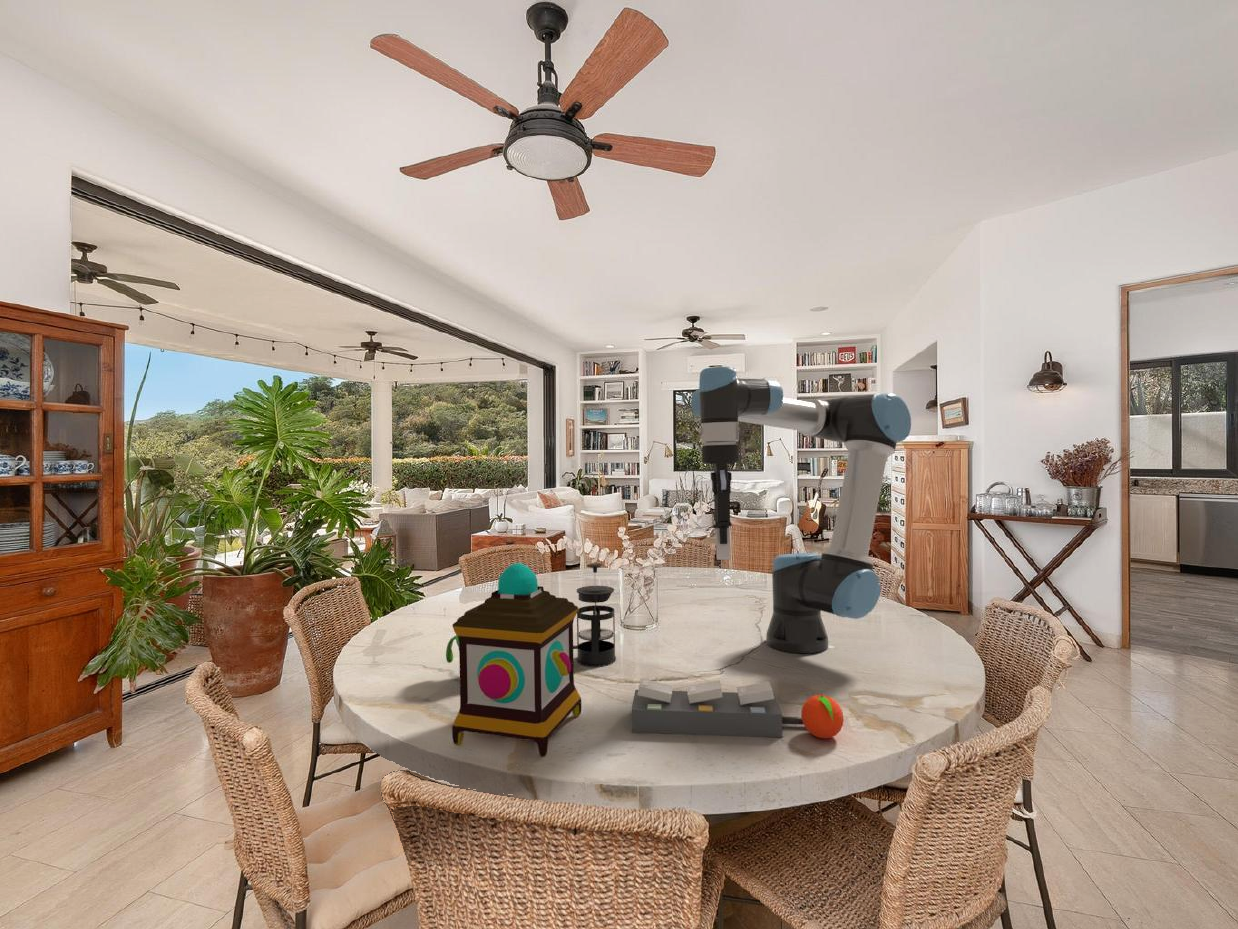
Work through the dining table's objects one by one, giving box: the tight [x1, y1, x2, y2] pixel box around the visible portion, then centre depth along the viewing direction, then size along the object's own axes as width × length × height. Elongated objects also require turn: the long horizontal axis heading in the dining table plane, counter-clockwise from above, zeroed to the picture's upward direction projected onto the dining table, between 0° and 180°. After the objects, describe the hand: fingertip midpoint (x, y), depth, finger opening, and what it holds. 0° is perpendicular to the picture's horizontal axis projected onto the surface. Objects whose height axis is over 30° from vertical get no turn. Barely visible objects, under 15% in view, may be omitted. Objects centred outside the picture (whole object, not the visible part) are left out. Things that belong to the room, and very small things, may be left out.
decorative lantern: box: [451, 562, 582, 758], centre depth 108 cm, size 20×20×30 cm
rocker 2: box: [686, 679, 723, 703], centre depth 110 cm, size 6×4×2 cm, turn 84°
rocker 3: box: [736, 681, 775, 705], centre depth 109 cm, size 6×4×2 cm, turn 84°
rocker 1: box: [637, 677, 673, 703], centre depth 110 cm, size 6×4×2 cm, turn 84°
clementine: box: [800, 694, 844, 739], centre depth 104 cm, size 8×7×7 cm
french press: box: [573, 562, 617, 668], centre depth 144 cm, size 12×9×23 cm
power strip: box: [630, 689, 804, 738], centre depth 109 cm, size 32×9×4 cm, turn 84°
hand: (723, 558), depth 124 cm, fingers closed
